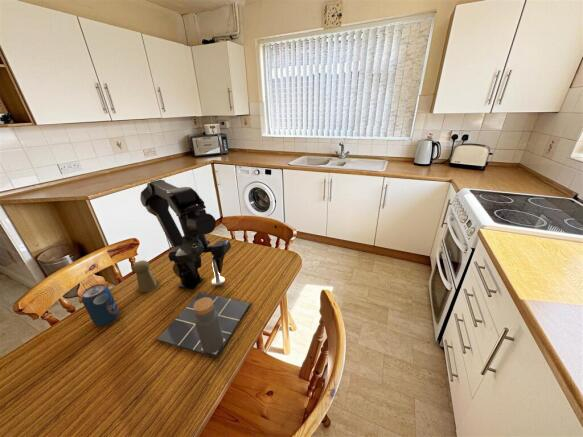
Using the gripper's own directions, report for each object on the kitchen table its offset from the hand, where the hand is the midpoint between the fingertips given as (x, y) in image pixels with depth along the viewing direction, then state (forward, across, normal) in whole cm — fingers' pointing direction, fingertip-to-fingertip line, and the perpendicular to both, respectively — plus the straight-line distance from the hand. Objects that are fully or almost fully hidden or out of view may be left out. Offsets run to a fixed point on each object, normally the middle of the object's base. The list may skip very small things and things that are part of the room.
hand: (207, 274), depth 77 cm
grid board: (+13, -1, -6) cm, 15 cm away
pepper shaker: (+7, -30, +7) cm, 32 cm away
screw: (+11, -4, +10) cm, 15 cm away
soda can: (+8, -33, -9) cm, 35 cm away
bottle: (+14, +5, -14) cm, 21 cm away
